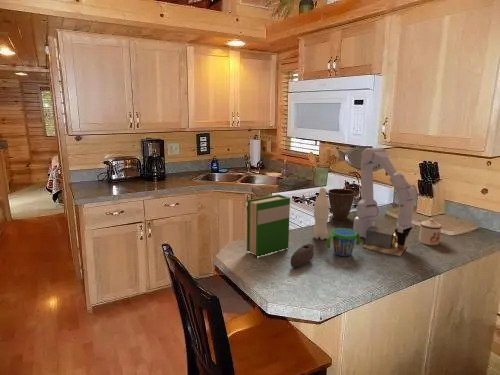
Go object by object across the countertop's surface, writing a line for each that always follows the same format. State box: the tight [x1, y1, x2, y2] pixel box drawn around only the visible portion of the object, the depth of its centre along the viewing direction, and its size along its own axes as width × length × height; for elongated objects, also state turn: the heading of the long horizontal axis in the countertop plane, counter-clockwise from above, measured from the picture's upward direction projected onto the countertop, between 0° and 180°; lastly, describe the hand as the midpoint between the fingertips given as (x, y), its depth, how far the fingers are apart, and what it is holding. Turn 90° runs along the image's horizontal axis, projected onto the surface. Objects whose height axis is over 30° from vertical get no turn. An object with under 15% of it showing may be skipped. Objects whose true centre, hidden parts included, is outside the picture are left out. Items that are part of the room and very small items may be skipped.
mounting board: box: [362, 244, 408, 257], centre depth 159 cm, size 16×14×1 cm
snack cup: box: [326, 227, 361, 257], centre depth 150 cm, size 16×10×10 cm
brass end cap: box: [391, 232, 409, 250], centre depth 157 cm, size 15×6×8 cm, turn 55°
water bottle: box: [312, 187, 330, 241], centre depth 167 cm, size 7×7×25 cm
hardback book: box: [246, 194, 291, 257], centre depth 150 cm, size 18×7×24 cm, turn 126°
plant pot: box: [327, 188, 356, 221], centre depth 199 cm, size 15×15×16 cm
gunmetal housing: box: [364, 225, 396, 250], centre depth 159 cm, size 11×7×7 cm, turn 55°
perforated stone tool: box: [290, 243, 315, 269], centre depth 140 cm, size 15×5×7 cm, turn 138°
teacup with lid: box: [418, 218, 443, 246], centre depth 164 cm, size 12×9×12 cm
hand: (402, 243), depth 154 cm, fingers closed on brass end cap, 4 cm apart
